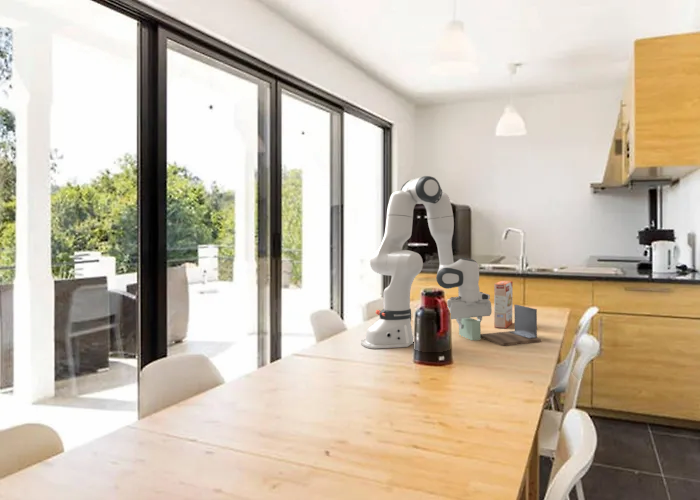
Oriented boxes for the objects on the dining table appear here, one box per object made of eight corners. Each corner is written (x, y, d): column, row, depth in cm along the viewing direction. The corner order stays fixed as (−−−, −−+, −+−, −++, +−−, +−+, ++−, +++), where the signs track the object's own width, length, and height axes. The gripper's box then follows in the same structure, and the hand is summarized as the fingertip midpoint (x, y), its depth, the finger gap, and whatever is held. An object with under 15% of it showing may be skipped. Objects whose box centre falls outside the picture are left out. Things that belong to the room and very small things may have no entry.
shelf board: (503, 346, 208) (503, 343, 208) (479, 337, 225) (479, 334, 225) (541, 341, 214) (541, 338, 214) (514, 333, 231) (514, 330, 231)
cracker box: (507, 328, 241) (506, 283, 240) (493, 327, 244) (493, 283, 243) (513, 323, 253) (513, 280, 252) (500, 322, 256) (500, 280, 255)
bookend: (529, 338, 214) (528, 309, 214) (508, 332, 228) (508, 305, 227) (536, 338, 215) (536, 309, 215) (516, 331, 229) (515, 304, 228)
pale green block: (472, 340, 219) (472, 321, 219) (459, 335, 230) (458, 317, 229) (480, 339, 220) (480, 321, 220) (467, 334, 231) (466, 316, 231)
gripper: (451, 298, 218) (451, 331, 219) (493, 295, 225) (493, 327, 225) (443, 296, 224) (444, 328, 225) (485, 293, 231) (485, 324, 231)
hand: (469, 327), depth 225 cm, fingers open, 6 cm apart
